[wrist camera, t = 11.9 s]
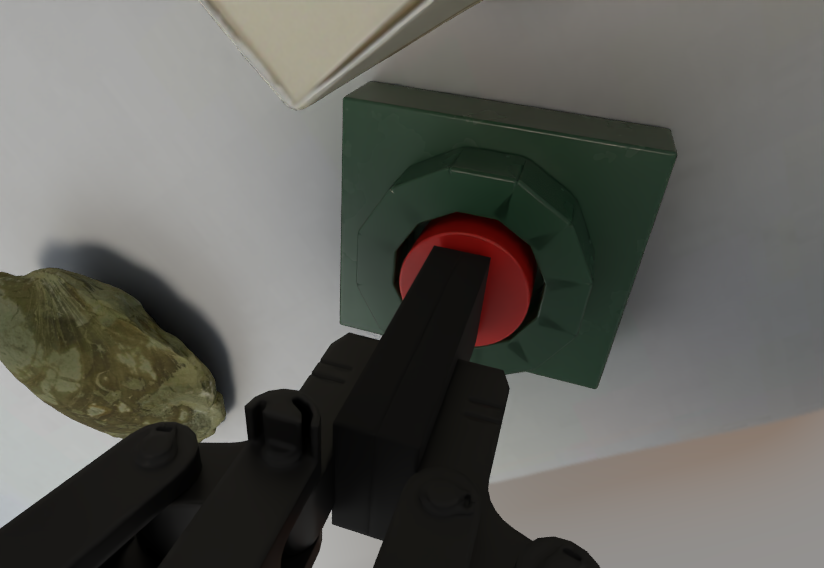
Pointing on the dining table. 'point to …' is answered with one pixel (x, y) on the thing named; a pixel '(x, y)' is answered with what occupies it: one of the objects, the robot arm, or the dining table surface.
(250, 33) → the cosmetic box
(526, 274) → the button
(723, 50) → the dining table surface
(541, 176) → the button box
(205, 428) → the seashell
